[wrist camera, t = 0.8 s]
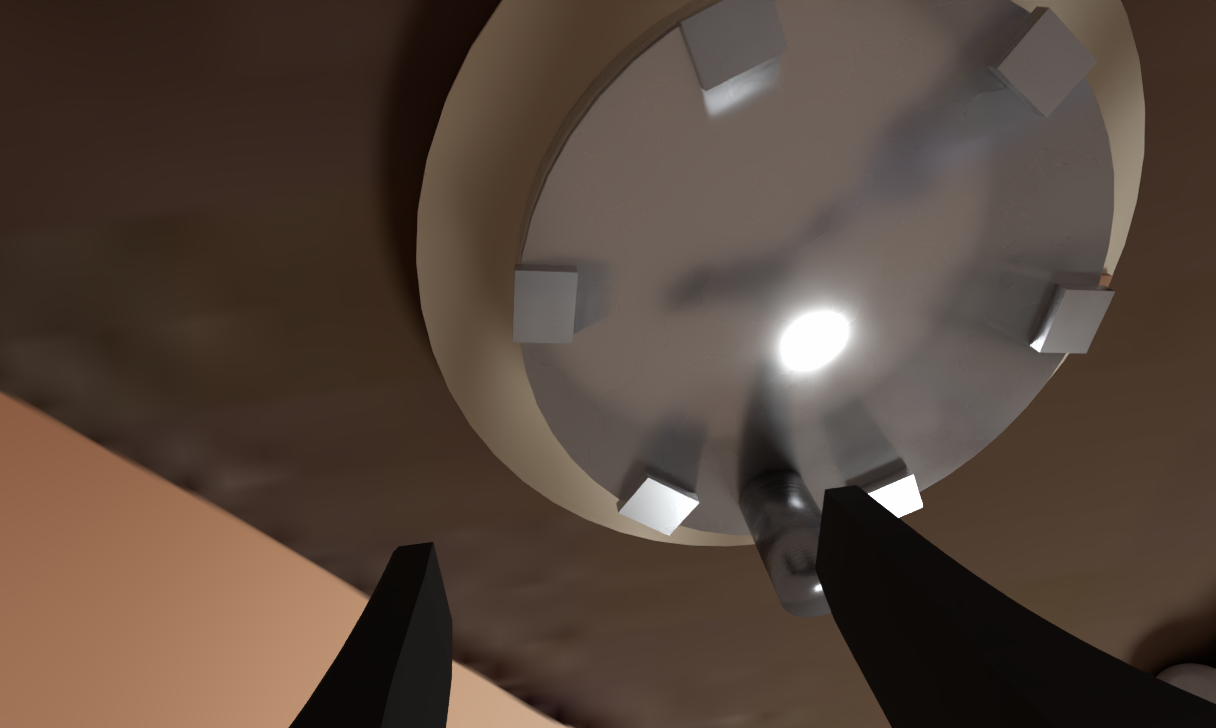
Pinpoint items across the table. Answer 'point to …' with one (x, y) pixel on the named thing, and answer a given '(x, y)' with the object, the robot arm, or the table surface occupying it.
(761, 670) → the table surface
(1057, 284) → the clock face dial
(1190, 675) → the red white round cluster
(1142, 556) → the table surface
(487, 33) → the base plate
